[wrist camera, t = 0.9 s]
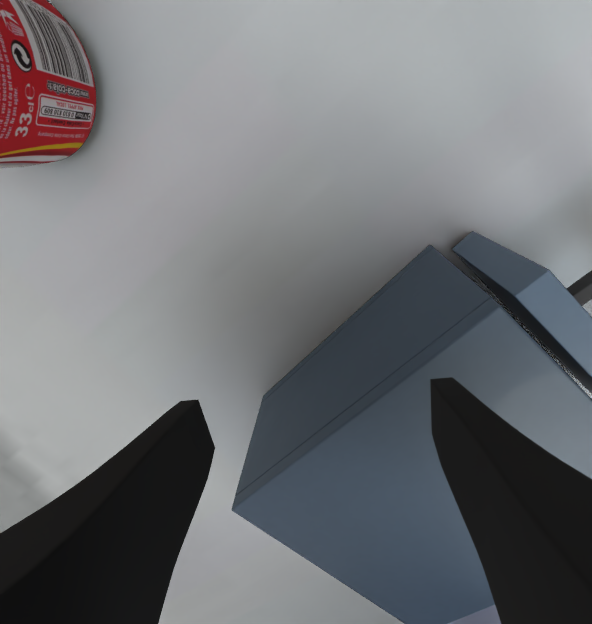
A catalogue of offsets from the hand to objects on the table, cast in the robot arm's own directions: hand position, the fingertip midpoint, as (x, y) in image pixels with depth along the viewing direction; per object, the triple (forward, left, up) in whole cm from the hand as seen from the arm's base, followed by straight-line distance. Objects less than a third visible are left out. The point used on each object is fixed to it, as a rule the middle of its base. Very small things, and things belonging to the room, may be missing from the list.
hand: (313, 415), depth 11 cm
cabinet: (-8, +1, -9) cm, 12 cm away
